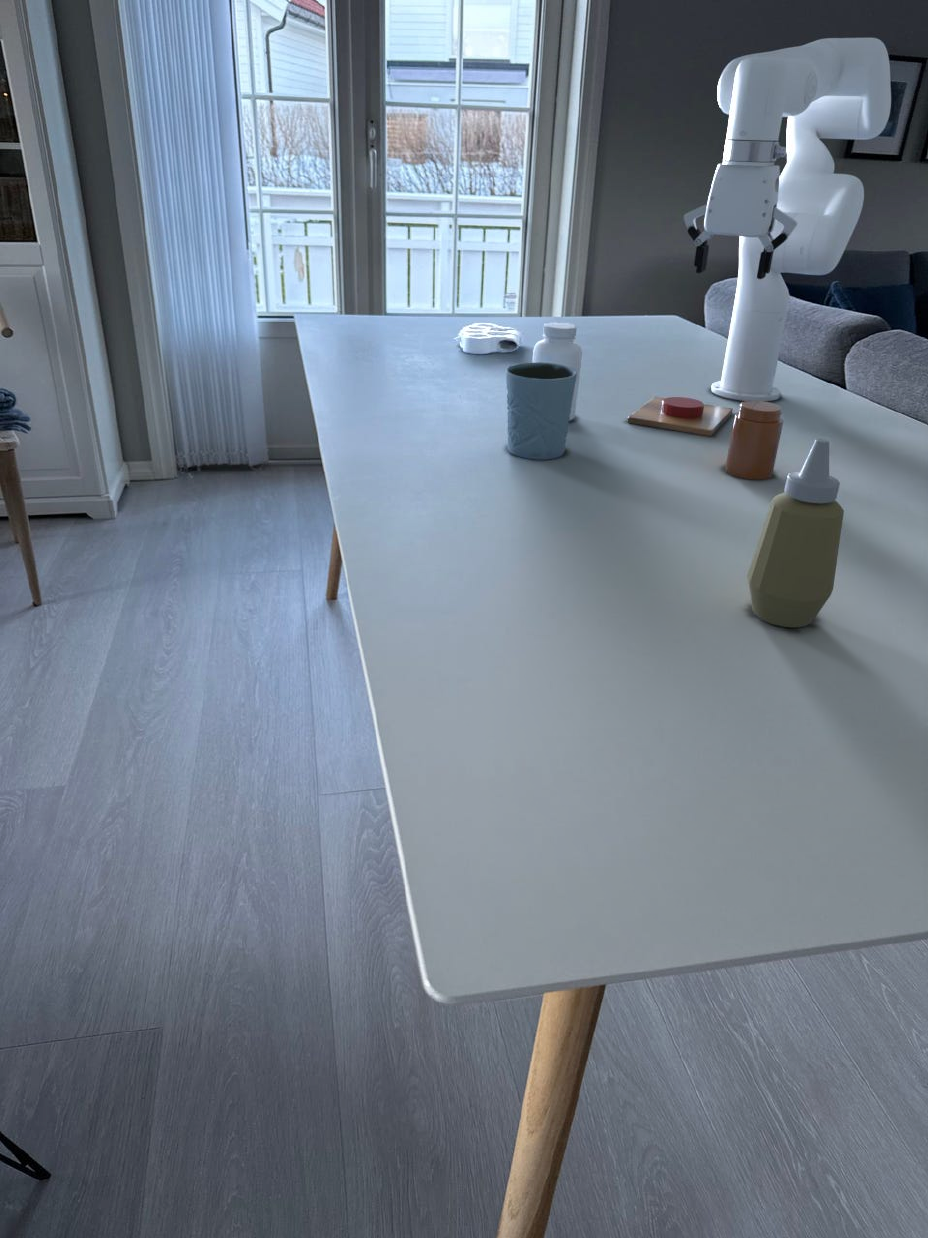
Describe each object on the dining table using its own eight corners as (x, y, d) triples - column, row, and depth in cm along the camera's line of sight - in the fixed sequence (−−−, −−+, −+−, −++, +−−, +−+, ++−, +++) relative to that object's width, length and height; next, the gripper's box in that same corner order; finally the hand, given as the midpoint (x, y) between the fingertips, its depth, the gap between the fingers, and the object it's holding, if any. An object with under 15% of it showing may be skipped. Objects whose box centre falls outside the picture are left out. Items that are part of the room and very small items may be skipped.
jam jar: (730, 461, 134) (742, 397, 129) (775, 469, 131) (789, 404, 127) (720, 474, 128) (732, 407, 124) (768, 482, 126) (782, 414, 121)
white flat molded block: (515, 356, 193) (448, 352, 194) (523, 340, 208) (461, 336, 210) (516, 340, 191) (449, 336, 193) (524, 325, 207) (461, 321, 208)
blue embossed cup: (575, 446, 138) (583, 366, 132) (560, 465, 129) (567, 381, 124) (512, 437, 140) (517, 359, 135) (493, 455, 132) (497, 373, 126)
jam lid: (654, 412, 153) (655, 402, 152) (671, 404, 158) (672, 394, 157) (692, 420, 149) (694, 409, 148) (708, 412, 154) (710, 401, 153)
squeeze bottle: (729, 597, 93) (762, 426, 85) (804, 596, 94) (844, 427, 86) (758, 635, 86) (798, 453, 78) (838, 634, 87) (887, 454, 78)
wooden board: (654, 402, 163) (655, 396, 163) (732, 413, 158) (733, 408, 157) (627, 422, 150) (628, 416, 150) (710, 436, 145) (711, 430, 145)
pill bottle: (573, 425, 148) (582, 331, 141) (524, 420, 149) (531, 327, 142) (577, 412, 155) (586, 322, 148) (531, 408, 156) (538, 318, 149)
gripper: (813, 156, 134) (790, 277, 143) (700, 151, 142) (684, 267, 150) (804, 157, 129) (780, 283, 137) (686, 152, 136) (670, 272, 144)
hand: (730, 274), depth 143 cm, fingers open, 9 cm apart
